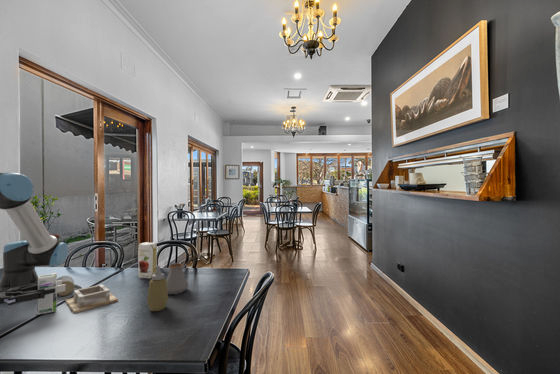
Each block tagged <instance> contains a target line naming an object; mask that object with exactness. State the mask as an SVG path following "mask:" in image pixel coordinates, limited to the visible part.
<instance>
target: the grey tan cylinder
mask: <svg viewBox="0 0 560 374" xmlns="http://www.w3.org/2000/svg"><path fill="white" fill-rule="evenodd" d="M58 280H62V285H63V284H65V291H63V292H59V293H57V296H60V297H65V296H68V295H70V294H71V293H72V292H74V290H78V289H83V287H82V286H80V285H79V284H75V281H74V278H72V277H71V276H68V275H63V276H60V277H58V278H57V281H58Z"/></svg>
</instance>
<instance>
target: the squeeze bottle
mask: <svg viewBox="0 0 560 374" xmlns="http://www.w3.org/2000/svg"><path fill="white" fill-rule="evenodd" d="M166 279H167V278H165V273H162V271H161V266H160V265H157V266H156V270H155V274H153V275H152V278H151V279H150V281H149V283H148V291H147V292H148V293H147V300H146V303H147V306H148V308H149V311H151V312H159V311H163V310H164V309H166V305H167V302H168V301H169V294H168V293H167V283H166Z"/></svg>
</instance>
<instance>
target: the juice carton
mask: <svg viewBox="0 0 560 374" xmlns="http://www.w3.org/2000/svg"><path fill="white" fill-rule="evenodd" d="M157 244H158V243H157V242H148V241H145V242H142V243H141V242H140V243H138V249H137V250H138V253H137V255H138V256H137V257H138V259H137V260H138V263H137V264H138V267H137V268H138V270H137V271H138V278H139V279H150V280H151V279H152V275H153V274H155V270H156V266H158V246H157Z"/></svg>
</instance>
